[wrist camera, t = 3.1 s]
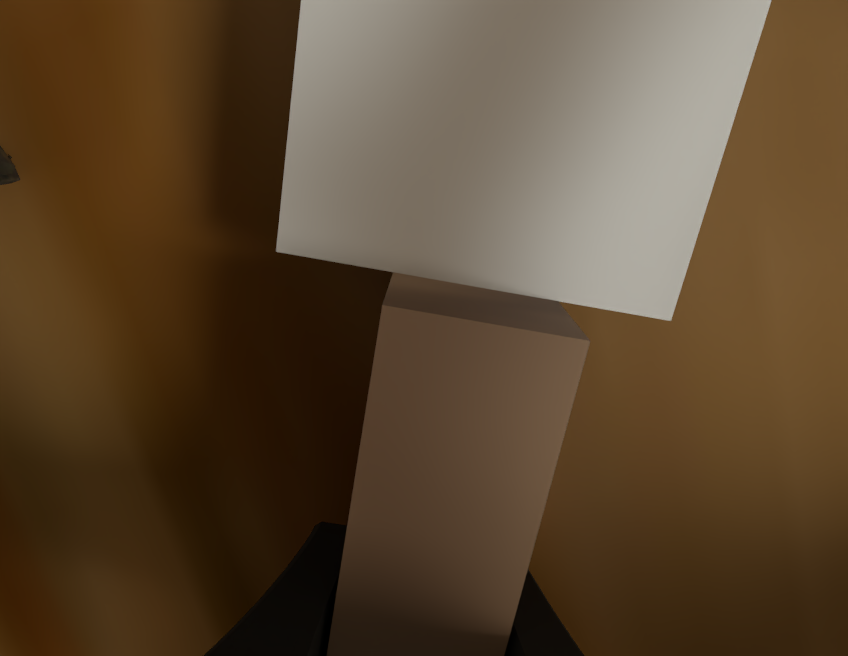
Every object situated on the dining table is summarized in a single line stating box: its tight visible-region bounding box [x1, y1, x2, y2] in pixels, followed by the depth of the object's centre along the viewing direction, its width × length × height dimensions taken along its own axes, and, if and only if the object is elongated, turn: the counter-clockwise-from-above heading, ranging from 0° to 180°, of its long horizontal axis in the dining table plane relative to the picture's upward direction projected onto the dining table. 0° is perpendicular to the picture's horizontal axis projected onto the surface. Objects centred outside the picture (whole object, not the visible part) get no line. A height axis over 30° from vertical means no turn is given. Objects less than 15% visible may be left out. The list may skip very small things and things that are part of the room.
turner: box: [276, 0, 771, 656], centre depth 10 cm, size 6×17×4 cm, turn 170°
